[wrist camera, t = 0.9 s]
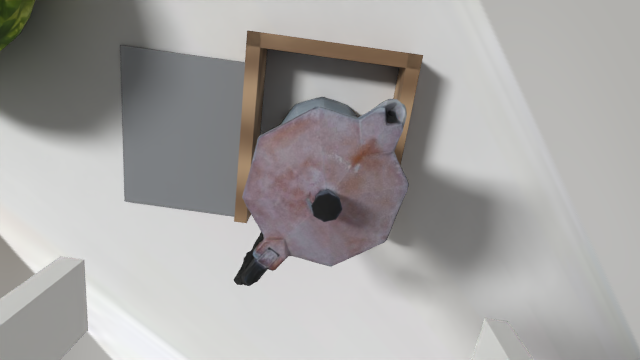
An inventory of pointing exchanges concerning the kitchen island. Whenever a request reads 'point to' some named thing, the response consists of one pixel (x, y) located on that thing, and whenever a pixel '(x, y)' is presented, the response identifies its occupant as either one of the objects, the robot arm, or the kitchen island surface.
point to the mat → (181, 129)
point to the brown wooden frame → (264, 41)
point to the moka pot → (324, 185)
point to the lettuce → (13, 19)
